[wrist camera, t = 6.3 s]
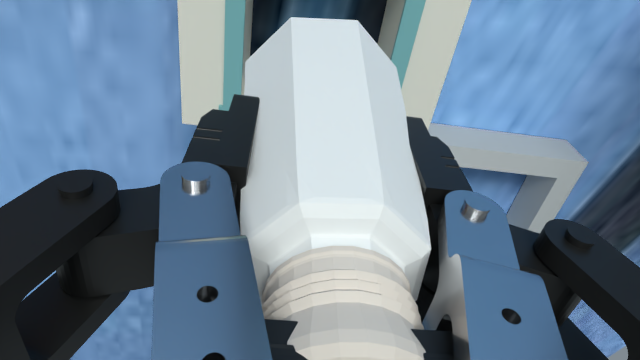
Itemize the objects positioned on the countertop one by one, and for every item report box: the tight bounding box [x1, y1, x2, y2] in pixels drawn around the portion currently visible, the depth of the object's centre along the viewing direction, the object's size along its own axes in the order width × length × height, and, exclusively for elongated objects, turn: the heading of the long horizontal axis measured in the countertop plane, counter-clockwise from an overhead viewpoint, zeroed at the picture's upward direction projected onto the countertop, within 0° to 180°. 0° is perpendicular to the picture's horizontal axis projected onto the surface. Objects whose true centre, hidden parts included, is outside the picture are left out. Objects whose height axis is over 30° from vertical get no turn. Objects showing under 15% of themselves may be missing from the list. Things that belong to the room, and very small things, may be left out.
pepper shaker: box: [240, 17, 431, 360], centre depth 10 cm, size 5×5×11 cm
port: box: [177, 0, 472, 130], centre depth 20 cm, size 12×9×4 cm
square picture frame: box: [428, 123, 589, 234], centre depth 27 cm, size 9×9×2 cm
